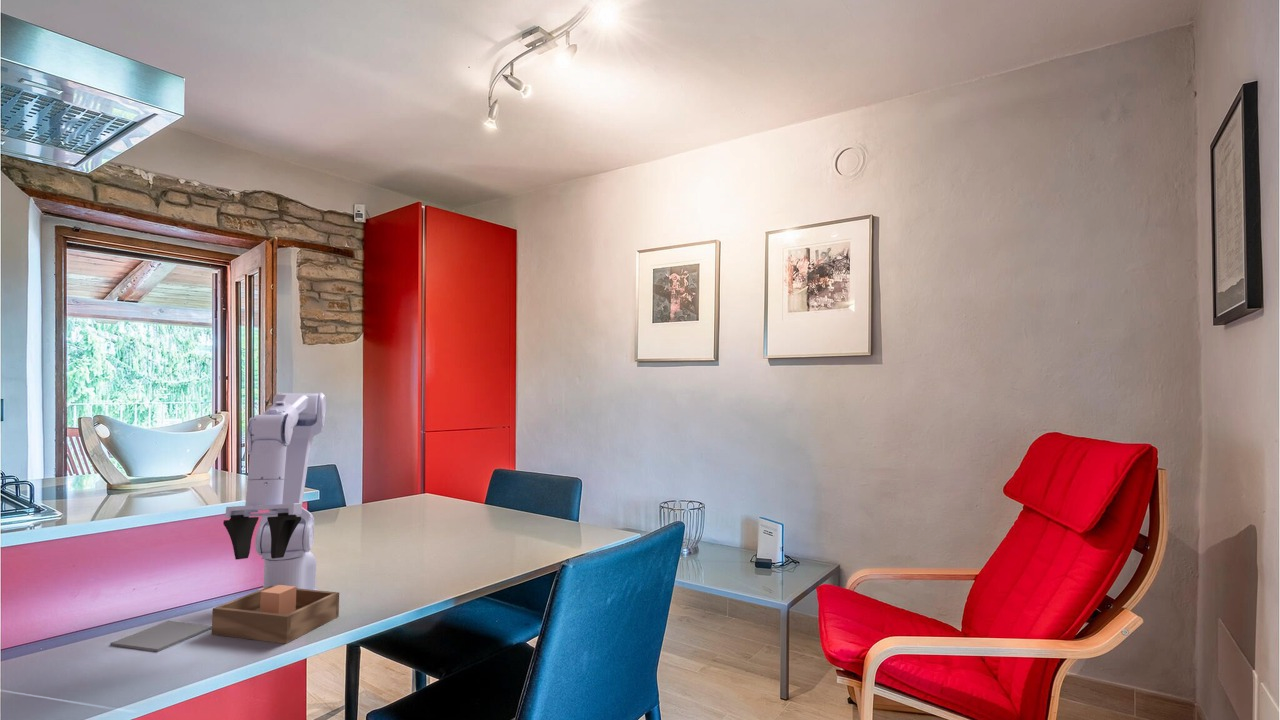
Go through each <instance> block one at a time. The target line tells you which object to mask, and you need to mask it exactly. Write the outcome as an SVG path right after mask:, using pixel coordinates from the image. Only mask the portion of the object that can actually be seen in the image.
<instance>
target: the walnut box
mask: <svg viewBox="0 0 1280 720" xmlns="http://www.w3.org/2000/svg"><path fill="white" fill-rule="evenodd" d="M272 587H274V586H269V587H266V588H264V589H263V588H262V589H258V590H256V591H254V592H252V593H249V594H246V595H244V596H241V597H239V598H236V599H233V600H230V601H228V602H225V603H224V604H220V605H218V606H216V607H212V610H211V611H212V615H211V617H212V618H211V626H212V629H211V635H213V636H221V637H229V638H230V637H231V638H238V639H244V640H245V639H246V640H255V641H262V642H270V643H278V644H279V643H280V644H289V643H290V642H292V641H294V640H296V639H298V638H300V637H302V636H304V635H305V634H308V633H310V632H311V631H315V629H317V628H319V627H321V626H323V625H325V624H327V623H329V622H331V621H333V620H334V619H336V618H337V619H338V617H339V615H340V612H339V611H340V592H336V591H327V590H319V589H318V590H309V589H298V588H296V611H294V612H292V613H290V614H287V615H286V614H277V613H268V612H260V598H261V591H264V590H266V589H269V588H272Z"/></svg>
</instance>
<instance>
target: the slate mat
mask: <svg viewBox="0 0 1280 720" xmlns="http://www.w3.org/2000/svg"><path fill="white" fill-rule="evenodd" d="M210 630H212V625H210V624H200V623H192V622H191V623H190V622H185V621H175V620H166V621H164V622H162V623H158V624H157V625H154V626H151V627H149V628H146V629H142V630H140V631H137V632H135V633H133V634H130V635H127V636H125V637H123V638H120V639H117V640H114V641H112V642H110V646H112V647H113V646H114V647H121V648H129V649H136V650H142V651H151V652H156V653H157V652H160V651H163V650H165V649H167V648H170V647H173V646H175V645H177V644H179V643H181V642H184V641H186V640H188V639H191V638H194V637H196V636H198V635H201V634H203V633H205V632H208V631H210Z"/></svg>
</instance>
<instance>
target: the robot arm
mask: <svg viewBox="0 0 1280 720" xmlns="http://www.w3.org/2000/svg"><path fill="white" fill-rule="evenodd" d="M326 411H327V398H326V395H325V394H324V393H323V392H320V391H319V392H281V391H279V392H277V393H276V394H275V395H274V397H273V399H272V405H271V406H270V407H268V409H267V410H265V412H263V414H255V415H254V417H250V418H249V420H248V422H247V427H246V438H247V439H246V441H247V450H246V451H247V455H249V461H248V468H247V469H248V471H247V481H246V493H245V494H246V495H245V504H244V505H238V506H235V505H234V506H226V507H225V518H226V520H225V519H224V520H223V526H224V527H225V530H226V531H227V533H228V535H229V538H230V541H231V544H232V548H233V554H234V559H235V560H246V559H248V558H249V556H250V552H251V547H252V545H251V544H252V539H253V535H254V531H255V528H256V526H257V524H258V521H259V518H260V517H261V518H260V522H259V526H258V528H257V531H256V533H255V534H256V535H255V539H254V540H255V541H254V542H255V544H254V546H255V547H254V548H255V552H256V554H258V555H259V556H261V560H264V561H263V562H264V564H263V588H262V589H264V588H266V587H269V586H277V585H286V586H296V588H298V589H309V590H319V589H318V588H316V583H317V582H316V579H317V577H316V575H317V560H316V556H315V555H314V554H313V552H312V551H311V550H312V548H313V545H314V542H315V541H314V539H315V517H314V515H313V514H312V513H311V512H310V511H309V510H307V509H305V508H304V507H303V501H304V495H305V487H306V480H307V474H308V473H307V472H308V468H309V467H308V465H309V461H310V460H309V459H310V453H311V452H310V451H311V446H312V443H313V440H314V437H316V436H317V435H319V434H321V433H322V432H323V428H324V426H325V419H326ZM263 510H265V511H266V510H268V512H260V513H259V511H263ZM227 518H229V519H227Z"/></svg>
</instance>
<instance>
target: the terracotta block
mask: <svg viewBox="0 0 1280 720" xmlns="http://www.w3.org/2000/svg"><path fill="white" fill-rule="evenodd" d="M294 611H296V586H286V585H277V586H274V587H272V588H269V589H266V590H264V591H261V598H260V612H268V613H277V614H286V615H287V614H290V613H292V612H294Z"/></svg>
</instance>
